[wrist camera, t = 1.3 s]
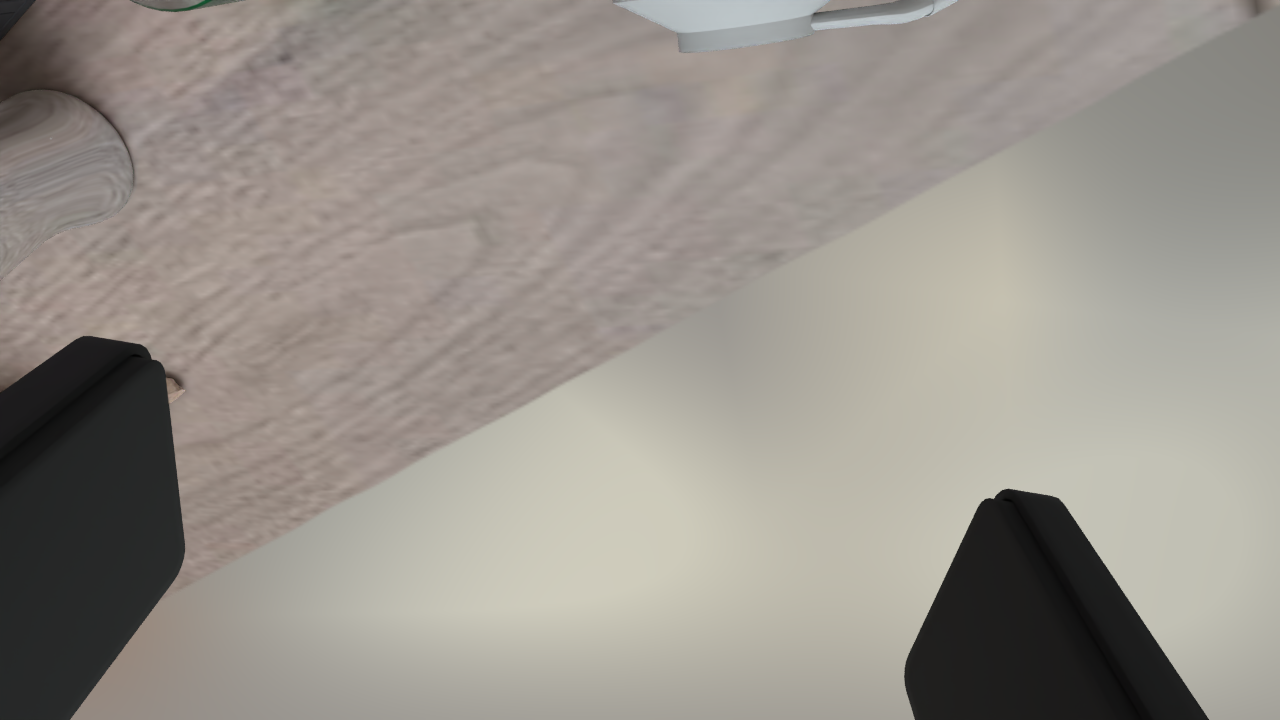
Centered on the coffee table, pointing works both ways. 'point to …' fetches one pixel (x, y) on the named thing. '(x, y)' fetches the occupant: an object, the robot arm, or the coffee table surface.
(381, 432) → the coffee table surface
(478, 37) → the coffee table surface
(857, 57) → the coffee table surface
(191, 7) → the soda can
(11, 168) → the beer glass
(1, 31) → the charcoal bin
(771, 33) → the headphones
